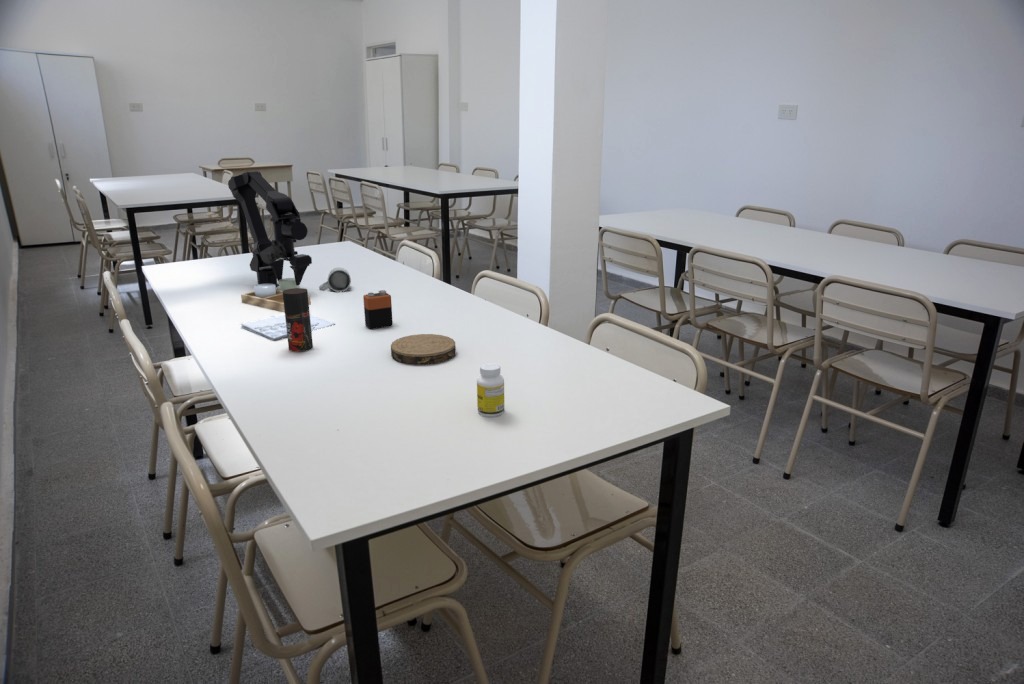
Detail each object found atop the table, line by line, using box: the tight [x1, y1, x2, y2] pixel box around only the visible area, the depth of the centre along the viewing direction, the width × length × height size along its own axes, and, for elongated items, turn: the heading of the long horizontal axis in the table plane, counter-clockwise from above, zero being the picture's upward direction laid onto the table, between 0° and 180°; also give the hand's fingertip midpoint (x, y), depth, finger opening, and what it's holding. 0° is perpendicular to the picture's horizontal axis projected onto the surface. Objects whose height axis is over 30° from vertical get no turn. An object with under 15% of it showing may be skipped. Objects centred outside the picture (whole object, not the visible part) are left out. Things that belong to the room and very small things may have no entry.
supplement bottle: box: [476, 362, 505, 418], centre depth 131 cm, size 5×5×10 cm
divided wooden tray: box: [240, 289, 312, 313], centre depth 209 cm, size 20×10×3 cm, turn 56°
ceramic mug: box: [318, 267, 352, 293], centre depth 227 cm, size 11×8×8 cm
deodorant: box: [283, 287, 314, 353], centre depth 167 cm, size 6×6×15 cm
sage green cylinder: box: [278, 277, 301, 291], centre depth 221 cm, size 6×6×5 cm
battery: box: [362, 289, 394, 330], centre depth 186 cm, size 4×7×10 cm, turn 121°
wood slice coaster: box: [390, 333, 457, 366], centre depth 165 cm, size 16×16×3 cm
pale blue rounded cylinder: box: [253, 283, 277, 298], centre depth 211 cm, size 6×6×5 cm
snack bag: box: [240, 314, 336, 341], centre depth 188 cm, size 19×20×2 cm
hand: (288, 283), depth 221 cm, fingers open, 9 cm apart
